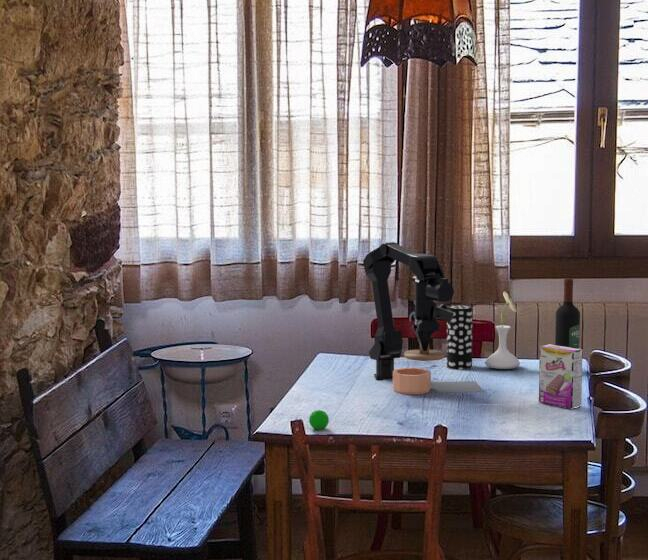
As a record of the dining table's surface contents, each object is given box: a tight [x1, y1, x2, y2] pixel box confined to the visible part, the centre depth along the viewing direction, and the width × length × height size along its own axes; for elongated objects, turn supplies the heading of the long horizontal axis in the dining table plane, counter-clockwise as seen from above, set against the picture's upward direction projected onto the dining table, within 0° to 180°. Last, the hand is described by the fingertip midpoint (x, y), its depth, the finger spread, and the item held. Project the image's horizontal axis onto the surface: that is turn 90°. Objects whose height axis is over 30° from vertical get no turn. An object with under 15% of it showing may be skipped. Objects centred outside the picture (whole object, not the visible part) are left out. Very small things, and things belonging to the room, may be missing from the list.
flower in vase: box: [484, 291, 521, 370], centre depth 334 cm, size 13×11×25 cm
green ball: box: [308, 409, 330, 431], centre depth 262 cm, size 5×5×5 cm
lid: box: [403, 343, 445, 362], centre depth 303 cm, size 12×12×6 cm
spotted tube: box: [446, 304, 474, 371], centre depth 336 cm, size 8×8×20 cm
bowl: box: [392, 367, 432, 395], centre depth 303 cm, size 11×11×6 cm
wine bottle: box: [554, 278, 581, 349], centre depth 326 cm, size 8×8×30 cm
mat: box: [431, 380, 485, 394], centre depth 307 cm, size 14×14×1 cm
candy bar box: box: [538, 343, 583, 409], centre depth 284 cm, size 11×5×16 cm, turn 44°
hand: (424, 349), depth 303 cm, fingers closed on lid, 3 cm apart
